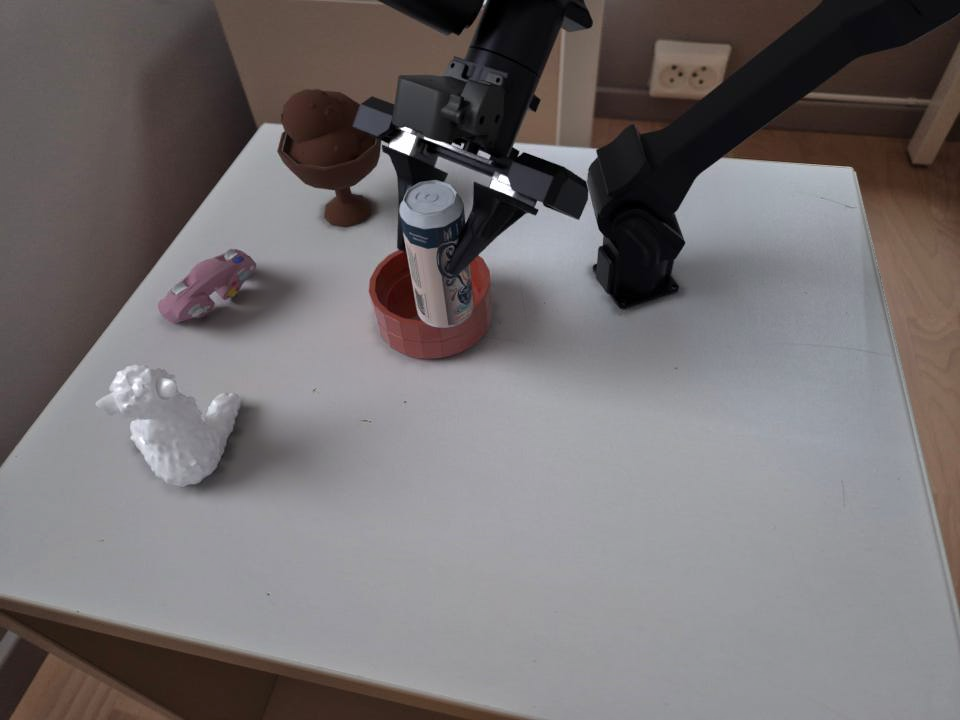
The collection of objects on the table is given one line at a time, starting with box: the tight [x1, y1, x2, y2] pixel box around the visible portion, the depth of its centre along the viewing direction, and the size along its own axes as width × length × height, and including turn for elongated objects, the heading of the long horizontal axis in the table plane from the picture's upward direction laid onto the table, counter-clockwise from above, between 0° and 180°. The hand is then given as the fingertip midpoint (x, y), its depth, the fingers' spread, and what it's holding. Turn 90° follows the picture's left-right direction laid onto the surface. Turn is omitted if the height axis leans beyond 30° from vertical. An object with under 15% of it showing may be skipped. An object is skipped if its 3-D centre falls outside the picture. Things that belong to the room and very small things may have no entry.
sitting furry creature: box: [95, 363, 242, 488], centre depth 60 cm, size 10×9×12 cm
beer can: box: [399, 180, 473, 328], centre depth 59 cm, size 5×5×12 cm
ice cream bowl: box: [276, 88, 382, 228], centre depth 79 cm, size 11×11×15 cm
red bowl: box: [368, 249, 494, 360], centre depth 71 cm, size 11×11×5 cm
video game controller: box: [157, 248, 257, 324], centre depth 74 cm, size 10×5×7 cm, turn 139°
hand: (426, 262), depth 58 cm, fingers closed on beer can, 5 cm apart
